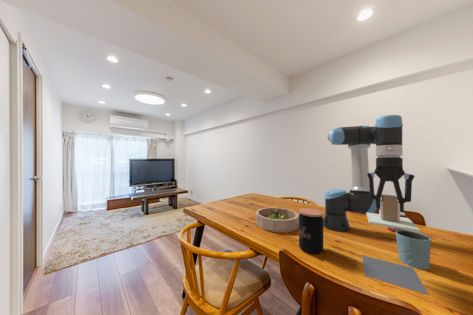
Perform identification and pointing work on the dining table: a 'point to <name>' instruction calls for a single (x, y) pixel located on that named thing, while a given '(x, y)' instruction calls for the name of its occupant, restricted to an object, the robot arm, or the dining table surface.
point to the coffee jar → (311, 230)
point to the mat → (393, 274)
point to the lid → (391, 215)
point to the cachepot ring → (277, 220)
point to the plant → (276, 215)
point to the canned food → (397, 228)
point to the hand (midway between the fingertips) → (389, 218)
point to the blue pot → (413, 248)
